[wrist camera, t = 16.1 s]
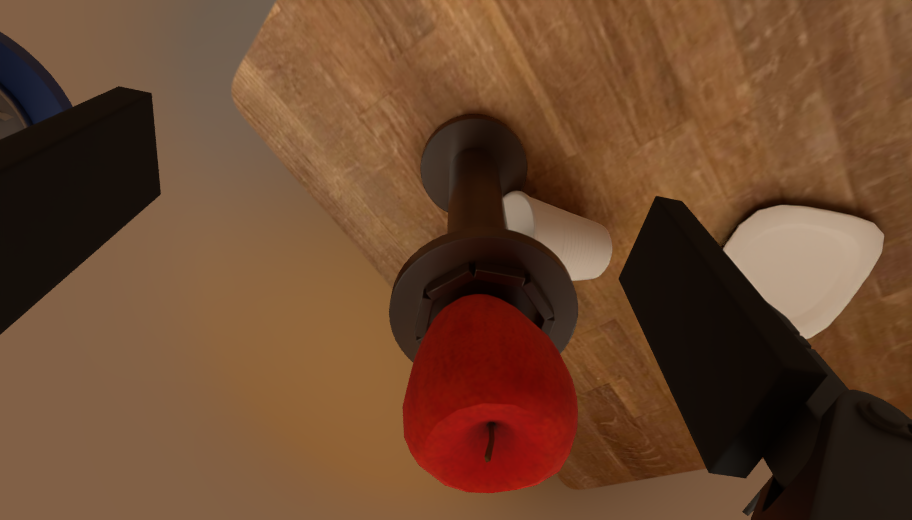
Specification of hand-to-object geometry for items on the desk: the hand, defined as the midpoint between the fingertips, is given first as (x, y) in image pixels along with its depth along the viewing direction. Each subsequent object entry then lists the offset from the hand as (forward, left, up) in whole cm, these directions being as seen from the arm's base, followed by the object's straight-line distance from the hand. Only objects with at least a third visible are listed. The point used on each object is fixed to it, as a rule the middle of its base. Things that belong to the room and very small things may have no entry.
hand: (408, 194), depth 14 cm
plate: (+45, -20, -40) cm, 63 cm away
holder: (+6, -14, -40) cm, 43 cm away
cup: (+21, -20, -37) cm, 47 cm away
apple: (+6, -14, -14) cm, 21 cm away
